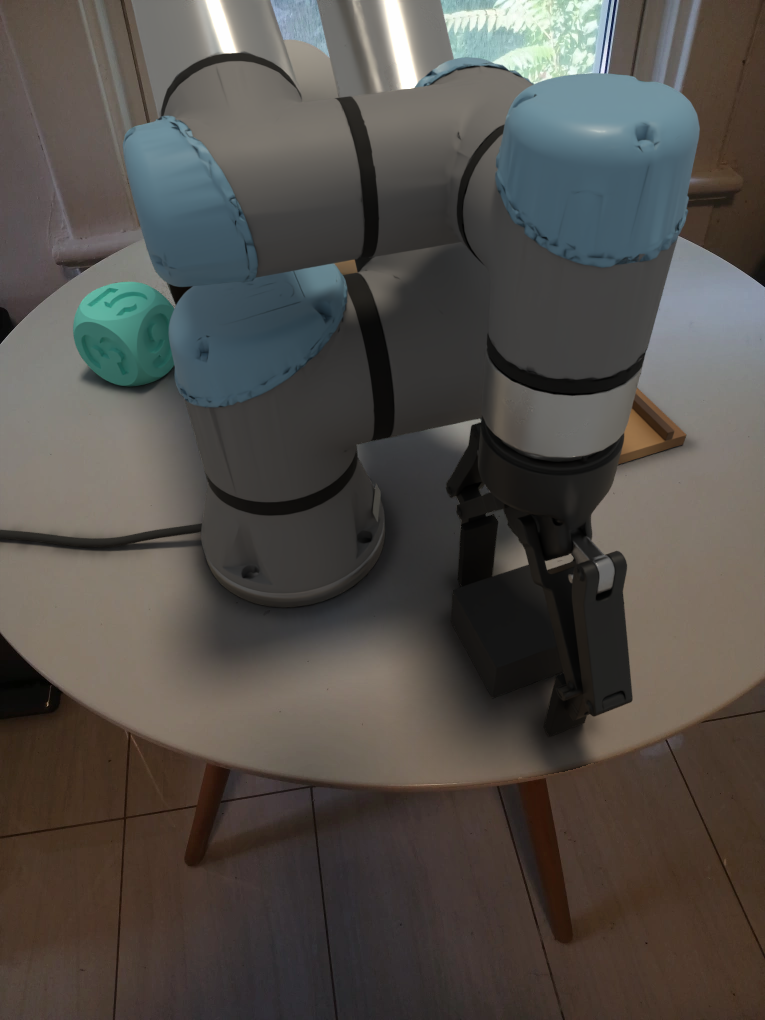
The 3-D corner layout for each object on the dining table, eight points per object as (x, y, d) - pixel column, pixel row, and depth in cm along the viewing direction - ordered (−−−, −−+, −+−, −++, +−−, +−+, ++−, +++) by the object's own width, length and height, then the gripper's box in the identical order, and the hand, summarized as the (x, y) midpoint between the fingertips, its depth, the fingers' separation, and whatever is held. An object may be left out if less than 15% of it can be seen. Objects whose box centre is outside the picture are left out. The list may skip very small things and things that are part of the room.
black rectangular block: (492, 698, 51) (496, 668, 48) (450, 621, 56) (452, 589, 53) (579, 665, 52) (589, 634, 50) (532, 593, 57) (538, 561, 54)
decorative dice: (131, 339, 84) (110, 275, 78) (190, 352, 82) (172, 288, 76) (87, 378, 79) (61, 313, 73) (148, 394, 77) (126, 327, 71)
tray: (551, 485, 65) (555, 467, 64) (457, 365, 78) (458, 347, 77) (683, 444, 68) (690, 426, 67) (571, 335, 81) (574, 318, 80)
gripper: (780, 566, 31) (662, 781, 46) (506, 293, 48) (485, 517, 63) (629, 621, 29) (558, 825, 45) (399, 318, 46) (404, 542, 61)
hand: (515, 646), depth 54 cm, fingers open, 13 cm apart
